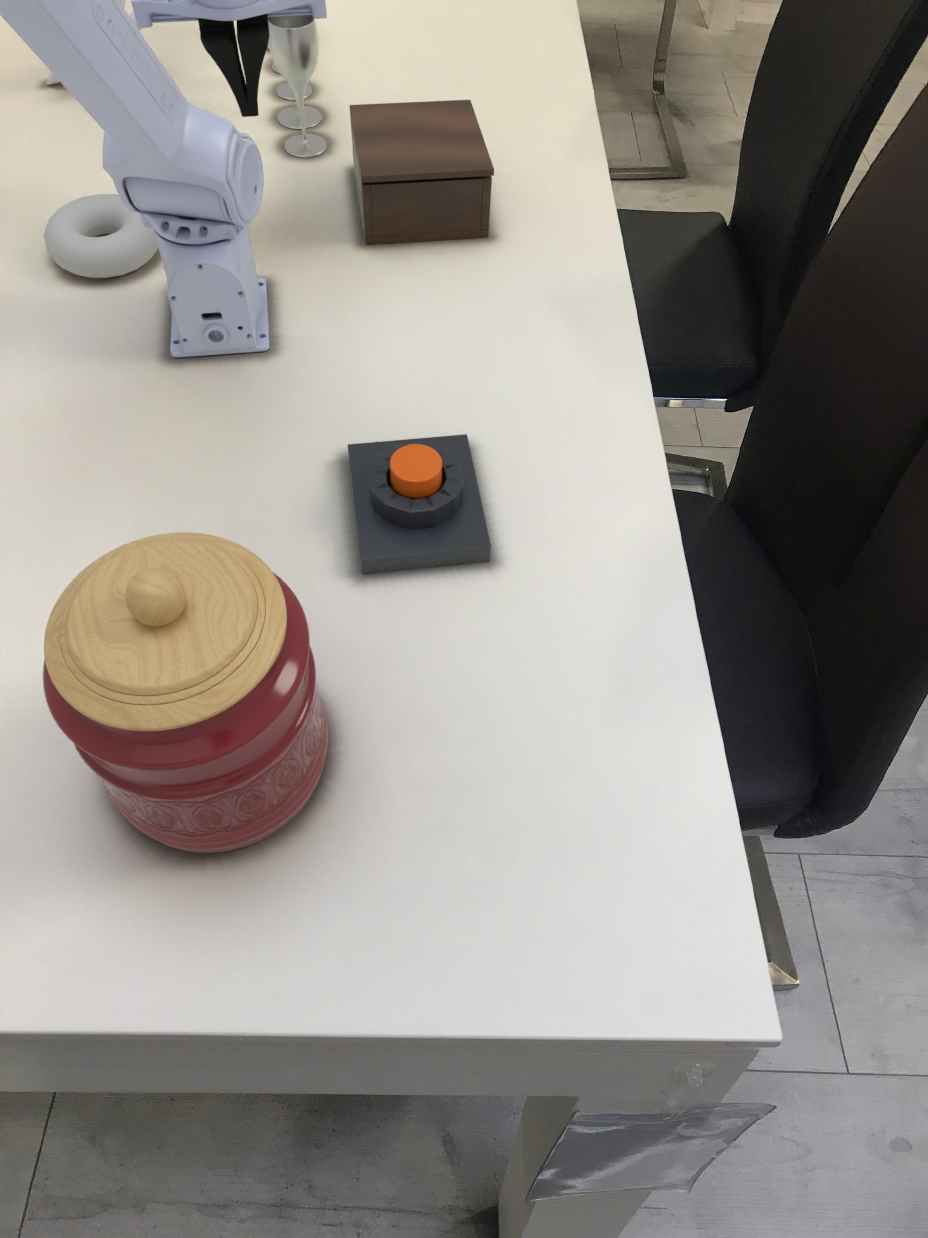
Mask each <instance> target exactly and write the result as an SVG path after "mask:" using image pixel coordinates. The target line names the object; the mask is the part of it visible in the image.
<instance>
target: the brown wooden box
mask: <svg viewBox="0 0 928 1238" xmlns="http://www.w3.org/2000/svg"><path fill="white" fill-rule="evenodd" d="M349 116H350V117H349V118H350V129H351V130H350V131H351V132H350V133H351V145H352V146H351V147H352V159H353V160H352V161H353V172H354V178H355V185H356V191H357V192H356V193H357V198H358V205H359V211H360V218H361V219H360V220H361V224H362V231H363V238H364V243H365V246H369V245H370V246H371V245H385V244H400V243H401V244H402V243H416V242H417V243H418V242H419V243H420V242H429V241H430V242H433V241H448V240H463V239H464V240H466V239H482V238H489V235H490V218H491V217H490V215H491V202H492V201H491V200H492V183H493V182H492V181H493V178H492V177H493V176H479V177H460V178H442V179H424V180H405V181H387V182H368V183H362V180H361V174H360V168H359V162H358V156H357V150H356V144H355V138H354V132H353V126H352V120H351V114H350V113H349Z"/></svg>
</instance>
